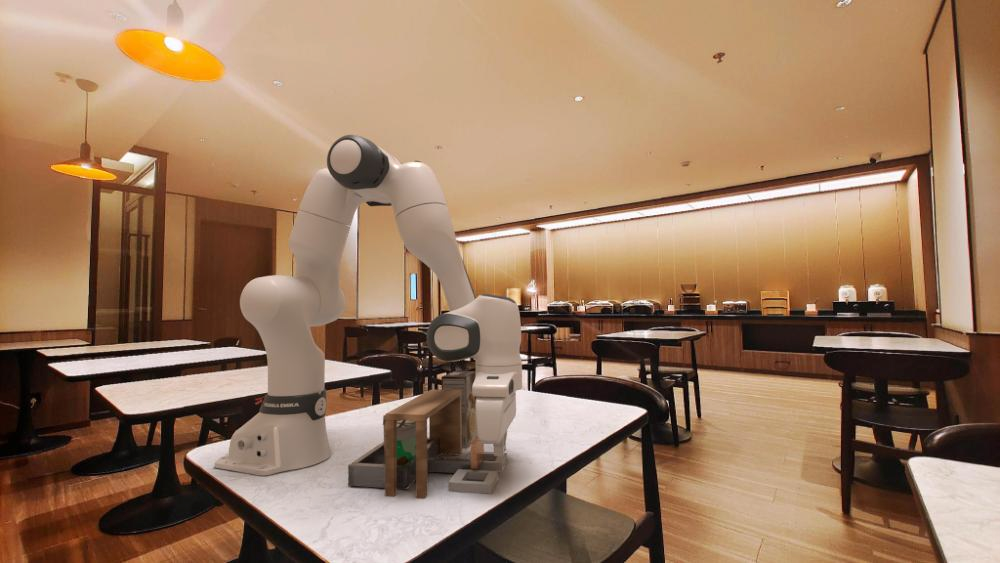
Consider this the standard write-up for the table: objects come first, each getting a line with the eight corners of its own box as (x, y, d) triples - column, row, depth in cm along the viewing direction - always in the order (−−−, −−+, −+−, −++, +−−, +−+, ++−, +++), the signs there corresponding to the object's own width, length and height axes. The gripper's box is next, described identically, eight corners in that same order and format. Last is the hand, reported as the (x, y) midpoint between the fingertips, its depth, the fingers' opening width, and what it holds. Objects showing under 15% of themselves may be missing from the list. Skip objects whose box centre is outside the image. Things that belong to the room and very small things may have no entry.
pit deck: (448, 491, 70) (448, 482, 71) (471, 458, 86) (471, 451, 86) (491, 493, 69) (491, 484, 69) (507, 460, 85) (506, 452, 85)
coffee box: (453, 435, 103) (453, 370, 104) (478, 436, 102) (477, 370, 103) (441, 447, 94) (440, 376, 95) (468, 448, 93) (467, 376, 94)
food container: (430, 480, 75) (429, 424, 76) (396, 487, 73) (396, 429, 74) (412, 459, 86) (412, 411, 87) (382, 465, 84) (382, 414, 84)
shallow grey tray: (348, 485, 73) (348, 449, 74) (391, 452, 90) (391, 423, 91) (468, 492, 69) (467, 454, 70) (490, 456, 86) (489, 426, 87)
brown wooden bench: (385, 495, 69) (385, 413, 70) (431, 451, 91) (431, 389, 92) (424, 498, 68) (424, 414, 69) (462, 453, 90) (461, 390, 91)
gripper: (493, 371, 89) (494, 436, 88) (469, 388, 69) (470, 473, 68) (522, 371, 88) (523, 438, 87) (506, 389, 68) (507, 475, 67)
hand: (499, 454), depth 77 cm, fingers closed
